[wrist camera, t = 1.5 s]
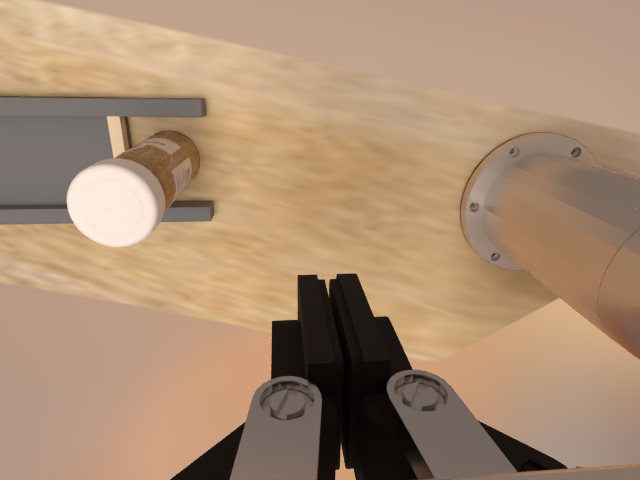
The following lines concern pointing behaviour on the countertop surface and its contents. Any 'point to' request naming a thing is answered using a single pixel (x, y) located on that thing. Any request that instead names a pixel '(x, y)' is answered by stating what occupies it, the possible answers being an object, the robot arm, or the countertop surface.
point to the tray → (73, 150)
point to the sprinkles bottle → (132, 189)
